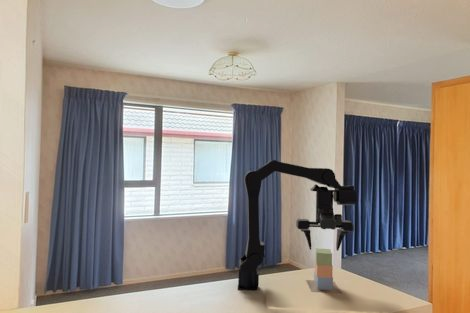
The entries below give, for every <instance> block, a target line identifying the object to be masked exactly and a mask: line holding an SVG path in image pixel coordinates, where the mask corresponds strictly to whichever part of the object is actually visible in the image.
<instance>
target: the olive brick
mask: <svg viewBox="0 0 470 313" xmlns="http://www.w3.org/2000/svg"><path fill="white" fill-rule="evenodd" d="M315 260H316V264H317V265H326V266H333V252H332V250H331V249H329V248H315Z"/></svg>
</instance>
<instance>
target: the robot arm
mask: <svg viewBox="0 0 470 313" xmlns="http://www.w3.org/2000/svg"><path fill="white" fill-rule="evenodd" d="M275 172H276V173H280V174H285V175H289V176H295V177H299V178H304V179H307V180H308V181H311V182H314V183H315V184H314V185H313V186H312V187H311V188H310V192H315V193H316V194H315V200H316V201H315V221H310V220H309V219H308V218H297V220H296V222H295V225H296V226H295V227H296V229H298V230H300V231H301V232H302V233H304V236H305V237H306V242H307V245H308V248H309V250H311V251H312V240H311V239H312V237H311V230H310V228H320V229H322V230H336V244H335V246H336V247H335V248H336V250H335V251H337V252H338V251H339V249H340V247H341V244H342V241H343V240H344V238H345V236H346V235H347V234H350V232H354V230H355V228H354V227H355V226H354V223H353V222H352V221H351V220H343V216H342V214H341V213H337V214H335V213H334V203H336V205H337V206H355V205H356V203H357V198H358V196H357V193H356V190H355V186H354V185H341V184H340V182H339V181H338V180H337V178H336V174H335V172H334V170H332V169H331V168H324V167H323V168H321V167H320V168H319V167H317V168H316V167H305V166H301V165H297V164H292V163H287V162H281V161H278V160H276V159H273V160H269V161H268V162H267V163H265V164H264V165H263V166H261V167H259V168H258V169H256V170H249V171H248V172H247V173H246V174H245V175H244V178H243V179H244V180H243V181H244V186H245V191H246V196H247V222H248V223H247V229H248V231H247V232H248V234H247V235H248V238H247V241H246V242H247V243H246V248H245V254H243V255H242V256H241V257H240V259H239V267H238V281H237V282H238V284H237V290H246V291H247V290H248V291H249V290H251V291H257V290H258V287H259V282H260V281H259V280H260V279H259V277H260V275H259V272H258V267H259V266H261V264H263V262H264V258H266V256H265V249H266V248H265V247H266V246H265V245H266V244H265V243H264V241H261V240H260V213H259V212H260V208H259V207H260V204H259V199H260V198H259V197H260V192H261V188H262V182H263V180H265V179H266V178H268V177H269V176H270V175H272V174H273V173H275ZM318 184H319V185H322V186H319V185H318ZM329 188H330V189H329ZM331 188H332V189H331Z"/></svg>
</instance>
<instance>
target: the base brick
mask: <svg viewBox="0 0 470 313" xmlns="http://www.w3.org/2000/svg"><path fill="white" fill-rule="evenodd" d="M313 273H314V274H313V278H314V283H315V285H316V287H317V289H320V290H333V281H334V277H333V276H332V278H323V277H317V276H316V273H315V270H314V272H313Z"/></svg>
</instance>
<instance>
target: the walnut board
mask: <svg viewBox="0 0 470 313" xmlns="http://www.w3.org/2000/svg"><path fill="white" fill-rule="evenodd" d="M305 281H306V283H307V285H308V288H309V289H310V292H312V293H331V294H332V293H333V294H343V292H342V290H341V289H340V287H338V286H339V285H337V284H336V282H335V281H334V280H333V290H320V289H317V287H316V285H315V283H314V280H310V279H306V280H305Z"/></svg>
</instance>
